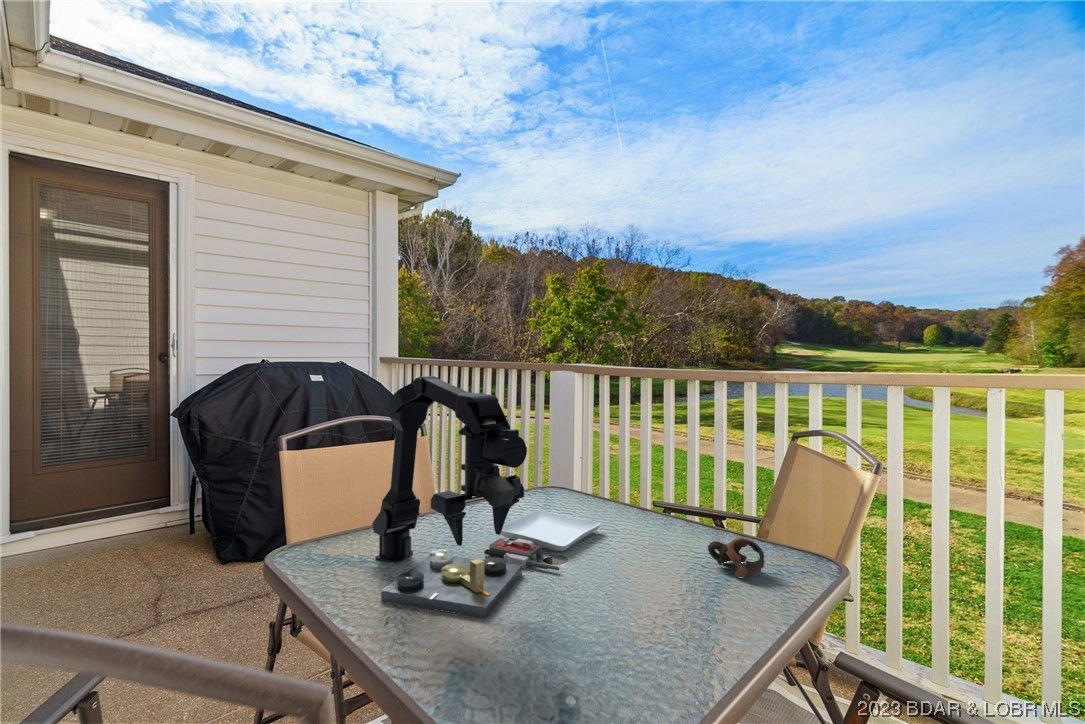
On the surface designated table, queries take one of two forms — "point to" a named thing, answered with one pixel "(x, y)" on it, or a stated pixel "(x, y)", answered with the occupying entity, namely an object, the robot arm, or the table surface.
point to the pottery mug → (737, 555)
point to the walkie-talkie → (518, 553)
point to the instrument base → (452, 585)
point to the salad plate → (549, 529)
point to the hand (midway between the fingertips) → (479, 539)
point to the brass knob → (465, 574)
